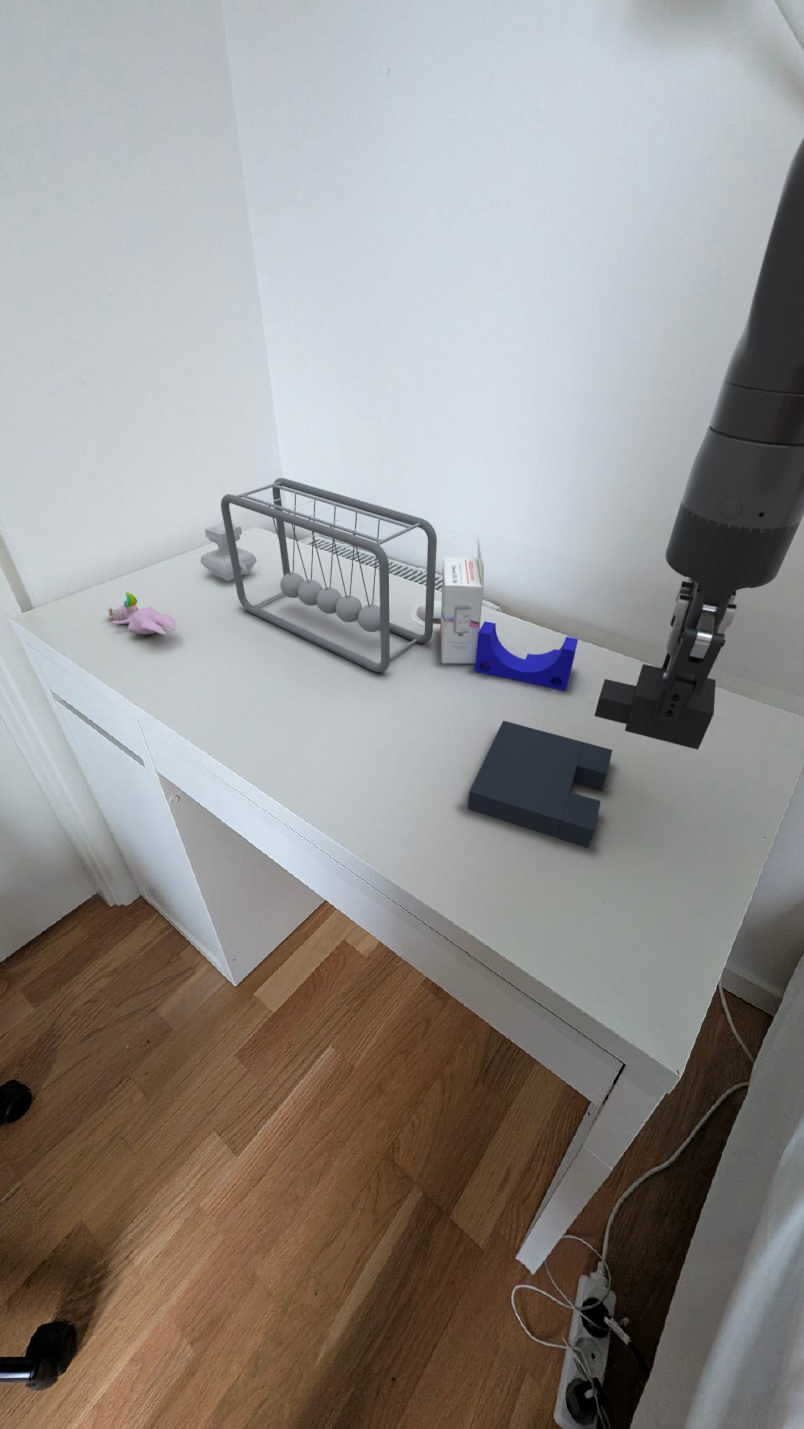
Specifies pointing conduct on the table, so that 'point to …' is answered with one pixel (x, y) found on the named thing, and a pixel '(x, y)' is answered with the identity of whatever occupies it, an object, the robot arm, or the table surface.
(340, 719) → the table surface
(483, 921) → the table surface
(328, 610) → the newton's cradle
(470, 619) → the ink cartridge box
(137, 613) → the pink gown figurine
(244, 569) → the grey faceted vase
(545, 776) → the grey pad
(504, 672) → the blue half-round bracket
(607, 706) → the black usb stick
